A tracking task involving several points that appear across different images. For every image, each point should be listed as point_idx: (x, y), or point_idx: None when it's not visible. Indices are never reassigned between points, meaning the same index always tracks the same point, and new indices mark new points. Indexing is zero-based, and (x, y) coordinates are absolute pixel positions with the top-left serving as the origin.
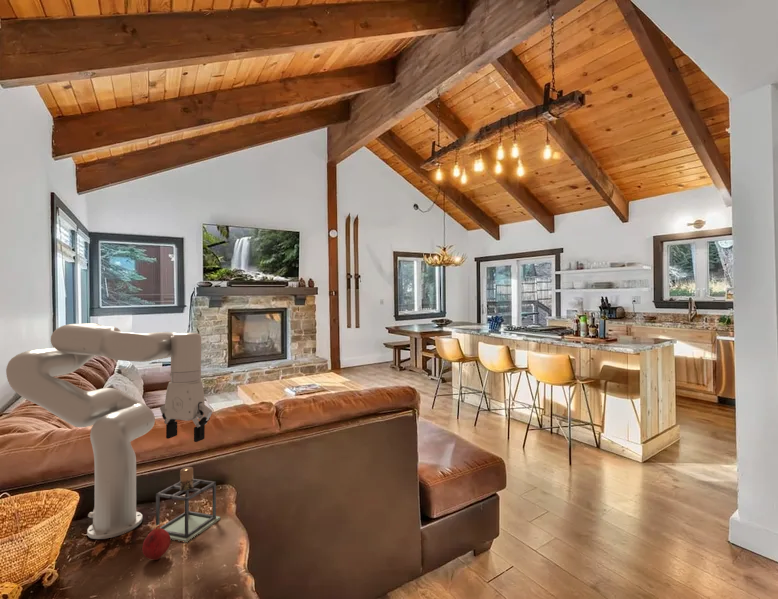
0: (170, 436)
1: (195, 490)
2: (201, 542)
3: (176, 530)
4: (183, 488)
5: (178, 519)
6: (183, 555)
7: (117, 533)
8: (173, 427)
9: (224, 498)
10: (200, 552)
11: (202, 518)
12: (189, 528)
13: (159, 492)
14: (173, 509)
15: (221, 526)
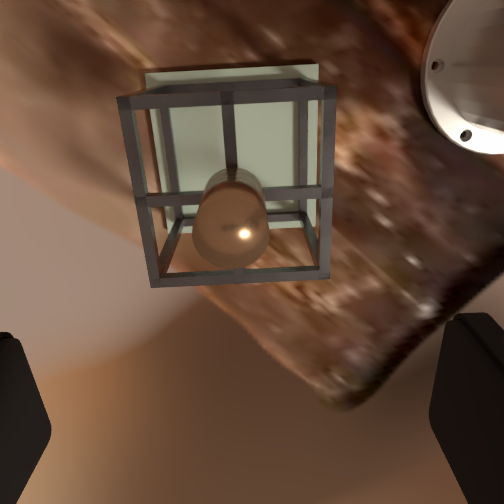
0: (450, 353)
1: (171, 194)
2: (100, 95)
3: (239, 112)
4: (223, 171)
5: (298, 173)
6: (84, 4)
7: (447, 6)
8: (500, 489)
9: (267, 330)
10: (45, 43)
11: None
12: (206, 139)
13: (329, 103)
14: (384, 227)
15: (125, 197)
